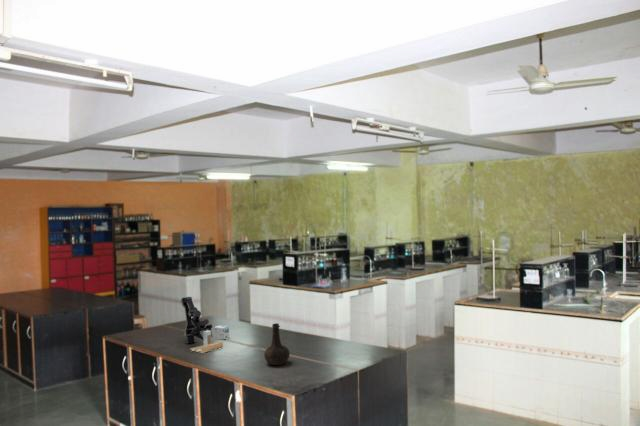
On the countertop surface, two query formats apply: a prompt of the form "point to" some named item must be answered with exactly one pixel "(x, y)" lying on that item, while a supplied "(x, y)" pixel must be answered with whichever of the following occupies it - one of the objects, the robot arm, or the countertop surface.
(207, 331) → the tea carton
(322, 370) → the countertop surface
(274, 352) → the glass bottle
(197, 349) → the shelf board
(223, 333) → the light bulb box
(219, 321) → the countertop surface
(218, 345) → the price rail
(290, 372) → the countertop surface
